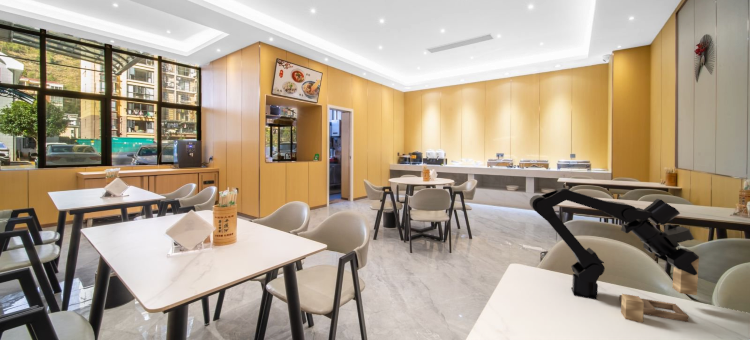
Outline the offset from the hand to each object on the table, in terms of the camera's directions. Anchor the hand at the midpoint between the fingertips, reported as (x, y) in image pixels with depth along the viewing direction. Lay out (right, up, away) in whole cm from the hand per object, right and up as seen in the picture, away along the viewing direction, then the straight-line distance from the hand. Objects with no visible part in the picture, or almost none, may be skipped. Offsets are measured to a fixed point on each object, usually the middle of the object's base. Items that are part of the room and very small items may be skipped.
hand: (691, 271), depth 94 cm
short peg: (-23, -12, -5) cm, 27 cm away
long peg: (-1, -7, +1) cm, 7 cm away
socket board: (-13, -12, -1) cm, 18 cm away
